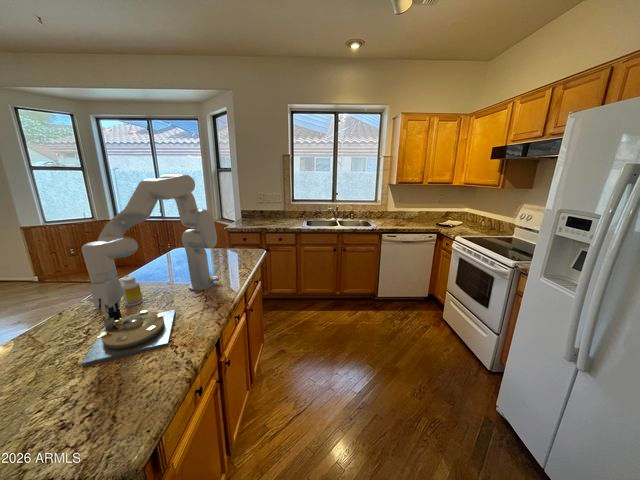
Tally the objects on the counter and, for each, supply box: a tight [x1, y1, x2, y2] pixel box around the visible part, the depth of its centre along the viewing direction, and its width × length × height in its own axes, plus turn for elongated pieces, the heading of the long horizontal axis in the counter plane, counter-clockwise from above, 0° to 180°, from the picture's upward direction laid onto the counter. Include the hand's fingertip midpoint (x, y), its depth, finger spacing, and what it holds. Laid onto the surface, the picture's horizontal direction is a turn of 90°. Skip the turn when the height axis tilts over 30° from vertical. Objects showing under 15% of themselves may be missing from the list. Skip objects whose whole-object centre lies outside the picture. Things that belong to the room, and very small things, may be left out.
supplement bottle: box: [121, 275, 143, 307], centre depth 117 cm, size 7×7×13 cm
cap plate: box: [80, 309, 176, 368], centre depth 95 cm, size 24×24×2 cm
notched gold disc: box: [99, 309, 165, 349], centre depth 94 cm, size 19×19×7 cm
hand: (116, 319), depth 95 cm, fingers closed
